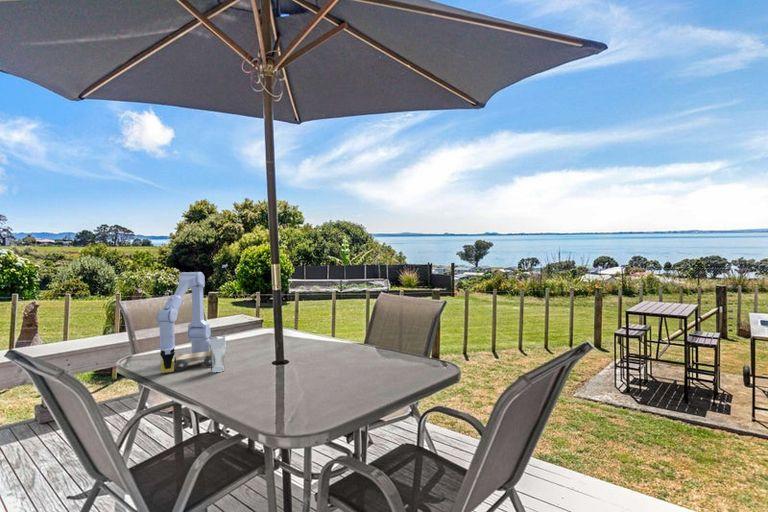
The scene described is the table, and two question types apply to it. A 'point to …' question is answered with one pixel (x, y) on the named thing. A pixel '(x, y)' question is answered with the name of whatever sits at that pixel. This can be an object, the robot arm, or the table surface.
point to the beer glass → (217, 353)
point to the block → (167, 369)
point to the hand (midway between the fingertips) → (167, 367)
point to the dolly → (191, 359)
